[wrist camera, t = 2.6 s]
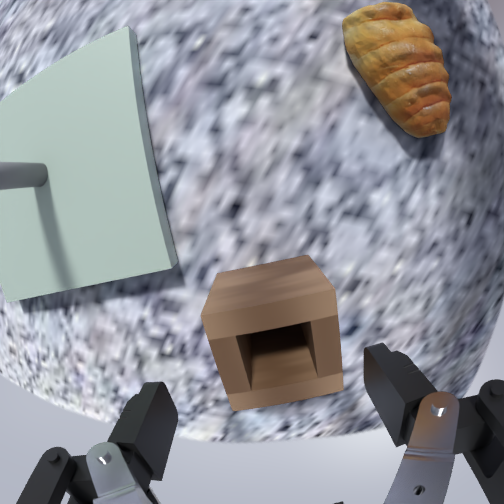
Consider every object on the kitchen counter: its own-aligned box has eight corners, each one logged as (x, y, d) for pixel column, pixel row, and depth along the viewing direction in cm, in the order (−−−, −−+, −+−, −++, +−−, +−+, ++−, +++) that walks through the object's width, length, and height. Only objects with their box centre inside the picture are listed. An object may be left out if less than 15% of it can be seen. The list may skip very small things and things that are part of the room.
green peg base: (136, 34, 14) (74, -36, 5) (178, 261, 17) (115, 329, 8) (-12, 123, 15) (-83, 117, 6) (17, 296, 18) (-53, 339, 9)
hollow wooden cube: (308, 254, 17) (334, 288, 11) (319, 334, 18) (343, 389, 12) (217, 273, 17) (200, 315, 12) (237, 350, 19) (232, 410, 13)
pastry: (454, 128, 15) (486, 122, 12) (384, 149, 16) (413, 142, 12) (400, 19, 13) (422, -4, 10) (325, 27, 14) (338, -3, 10)
